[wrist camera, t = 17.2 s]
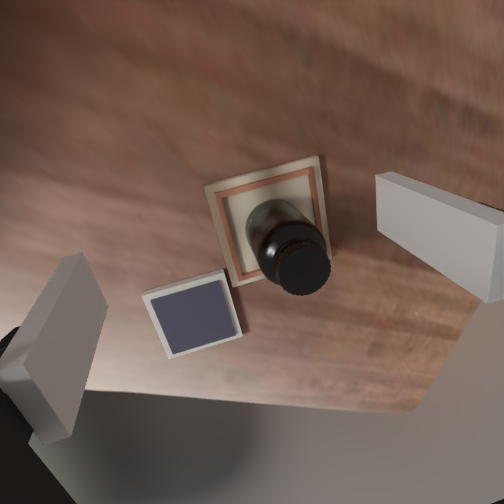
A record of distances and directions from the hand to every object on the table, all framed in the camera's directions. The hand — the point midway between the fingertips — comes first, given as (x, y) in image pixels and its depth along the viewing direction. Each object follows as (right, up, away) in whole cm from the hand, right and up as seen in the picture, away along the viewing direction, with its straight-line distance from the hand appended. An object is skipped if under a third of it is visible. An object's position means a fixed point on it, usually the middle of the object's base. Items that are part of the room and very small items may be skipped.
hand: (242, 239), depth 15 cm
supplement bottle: (+3, +3, +25) cm, 26 cm away
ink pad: (-7, -8, +29) cm, 31 cm away
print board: (+3, +3, +26) cm, 26 cm away
